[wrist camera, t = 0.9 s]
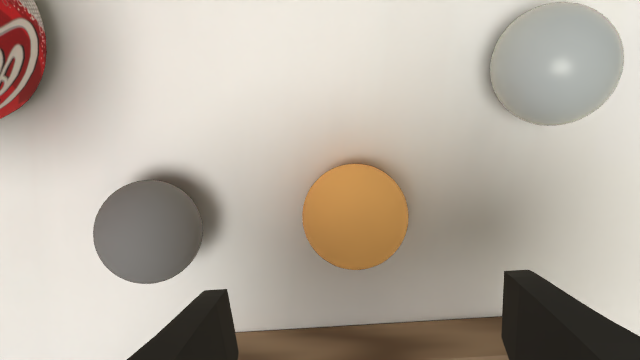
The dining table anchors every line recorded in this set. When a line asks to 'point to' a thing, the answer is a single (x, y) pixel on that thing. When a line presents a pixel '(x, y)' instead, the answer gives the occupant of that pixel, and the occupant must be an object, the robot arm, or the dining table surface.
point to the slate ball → (557, 63)
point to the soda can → (20, 53)
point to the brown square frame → (380, 342)
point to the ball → (355, 216)
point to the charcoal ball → (147, 231)
